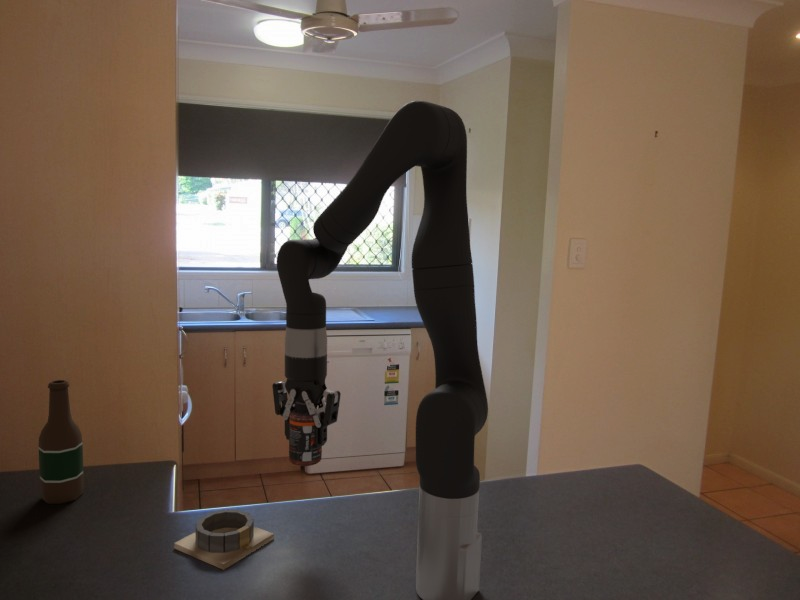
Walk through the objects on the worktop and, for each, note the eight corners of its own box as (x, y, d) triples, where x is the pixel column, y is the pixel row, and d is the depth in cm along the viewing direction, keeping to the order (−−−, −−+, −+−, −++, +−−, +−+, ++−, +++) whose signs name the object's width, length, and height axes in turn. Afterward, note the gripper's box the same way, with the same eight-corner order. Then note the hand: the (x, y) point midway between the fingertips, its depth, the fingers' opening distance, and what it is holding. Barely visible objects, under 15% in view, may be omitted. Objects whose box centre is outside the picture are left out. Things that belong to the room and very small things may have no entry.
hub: (273, 538, 111) (273, 517, 110) (223, 569, 100) (223, 546, 100) (226, 521, 117) (226, 501, 116) (174, 548, 106) (173, 526, 106)
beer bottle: (42, 491, 127) (37, 378, 124) (84, 485, 130) (81, 375, 127) (38, 507, 120) (33, 388, 117) (83, 501, 123) (79, 384, 120)
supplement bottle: (315, 469, 108) (316, 406, 107) (283, 465, 109) (284, 404, 108) (326, 456, 114) (326, 397, 113) (295, 453, 115) (296, 395, 114)
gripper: (351, 353, 109) (349, 444, 111) (288, 343, 116) (288, 429, 118) (325, 360, 102) (324, 457, 104) (261, 350, 109) (261, 440, 111)
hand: (305, 442), depth 111 cm, fingers closed on supplement bottle, 6 cm apart
